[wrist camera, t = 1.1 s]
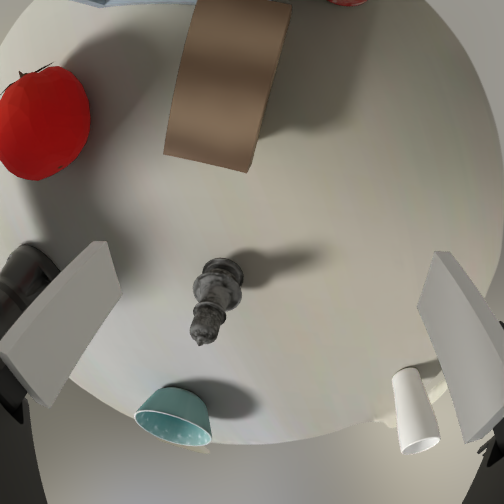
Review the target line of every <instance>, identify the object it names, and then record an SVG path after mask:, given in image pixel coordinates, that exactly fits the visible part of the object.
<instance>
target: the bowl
mask: <svg viewBox="0 0 504 504" xmlns="http://www.w3.org/2000/svg"><path fill="white" fill-rule="evenodd" d="M134 418H135V420H136V422H137V423H138V424H139V425H140V426H141V427H142V428H143V429H144V430H146V431H148V432H149V433H151V434H153V435H155V436H157V437H159V438H161V439H164V440H166V441H169V442H173V443H177V444H181V445H187V446H202V445H206V444H209V443H210V442H211V441H212V434H211V428H210V422H209V417H208V412H207V407H206V405H205V404H204V402H203V401H202V400H201V399H200V398H199V397H198V396H197V395H195V394H194V393H192V392H190V391H188V390H185V389H181V388H176V387H167V388H162V389H159V390H157V391H156V392H155V393H154V394H153V395H152V396H151V397H150V398H149V399H148V400H147V401H146V402H145V403H144V404H143V405H142V406H141V407H140V408H139V409H138V410H137V411H136V413H135V414H134Z"/></svg>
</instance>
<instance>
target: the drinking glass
mask: <svg viewBox="0 0 504 504" xmlns="http://www.w3.org/2000/svg"><path fill="white" fill-rule="evenodd" d="M392 386H393V391H394V400H395V409H396V421H397V433H398V439H399V445H400V449H401V453H402V454H405V455H410V454H415V453H419V452H422V451H425V450H427V449H429V448H431V447H433V446H435V445H436V444H437V443H438V442H439V441H440V439H441V438H440V432H439V427H438V423H437V419H436V416H435V413H434V410H433V408H432V405H431V403H430V400H429V398H428V395H427V392H426V390H425V387H424V385H423V382H422V380H421V377H420V374H419V371H418V370H417V369H416V368H412V367H410V368H405V369H402V370H400V371H398V372H397V373H396V374H395V375H394V376H393V378H392Z"/></svg>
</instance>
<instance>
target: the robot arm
mask: <svg viewBox="0 0 504 504" xmlns="http://www.w3.org/2000/svg"><path fill="white" fill-rule="evenodd" d="M122 294H123V293H122V290H121V287H120V284H119V281H118V278H117V275H116V271H115V268H114V265H113V261H112V258H111V254H110V251H109V247H108V244H107V241H93V242H92V243H90V244H89V245H88V246H87V247H86V248H85V249H84V250H83V251H82V252H81V253H80V254H79V255H78V256H77V257H76V258H75V259H74V260H73V261H72V262H71V263H70V264H69V265H68V266H67V267H66V268H65V269H64V270H63V271H62V272H61V273H60V272H59V270H58V269H57V268H56V266H55V265H54V264H53V263H52V261H51V260H50V259H49V258H48V257H47V256H46V255H44V254H43V253H42V252H41V251H39V250H38V249H36V248H34V247H32V246H28V245H23V246H20V247H18V248H17V249H16V250H15V251H13V252H12V253H11V254H10V256H9V257H8V259H7V262H6V264H5V266H4V267H3V269H2V271H1V272H0V504H47V500H46V497H45V493H44V489H43V486H42V482H41V478H40V473H39V469H38V465H37V460H36V454H35V449H34V443H33V437H32V430H31V422H30V412H29V404H28V401H27V399H26V398H25V395H26V394H27V392H28V394H29V395H30V396H31V397H32V398H33V399H34V401H35V402H36V403H39V404H40V405H42V406H45V407H47V408H49V409H50V408H51V407H52V405H53V403H54V401H55V399H56V397H57V396H58V394H59V392H60V391H61V389H62V387H63V385H64V384H65V382H66V380H67V379H68V377H69V375H70V374H71V372H72V370H73V369H74V367H75V366H76V364H77V362H78V361H79V359H80V357H81V356H82V354H83V353H84V351H85V350H86V348H87V346H88V345H89V343H90V342H91V340H92V339H93V337H94V336H95V334H96V333H97V331H98V329H99V328H100V326H101V325H102V323H103V322H104V320H105V319H106V318H107V316H108V315H109V313H110V312H111V310H112V309H113V307H114V306H115V304H116V303H117V302H118V300H119V299H120V297H121V296H122ZM417 309H418V311H419V313H420V316H421V318H422V320H423V322H424V325H425V327H426V330H427V332H428V334H429V337H430V339H431V342H432V344H433V347H434V349H435V352H436V355H437V357H438V360H439V363H440V365H441V368H442V371H443V374H444V376H445V379H446V382H447V385H448V388H449V391H450V394H451V398H452V401H453V404H454V407H455V411H456V414H457V417H458V421H459V424H460V428H461V432H462V436H463V440H464V443H465V444H466V443H469V442H472V441H475V440H478V439H482V438H483V437H484V436H485V435H486V434H488V433H489V432H490V431H491V430H492V429H493V431H494V434H495V435H494V436H493V437H492V438H491V439H490V440H489V441H487V442H486V443H485V444H484V445H483V446H482V447H480V449H479V450H478V452H477V453H478V454H480V453H481V452H482V451H483V450H484V449H486V448H487V450H486V452H485V453H484V454H483V456H484V457H483V460H482V462H481V465H480V467H479V469H478V471H477V474H476V476H475V478H474V480H473V482H472V485H471V487H470V489H469V491H468V493H467V495H466V497H465V499H464V500H463V502H462V504H504V323H503V322H501V321H498V320H497V318H496V316H495V315H494V313H493V312H492V310H491V309H490V307H489V306H488V304H487V302H486V301H485V299H484V298H483V296H482V295H481V293H480V292H479V291H478V289H477V288H476V286H475V285H474V283H473V282H472V281H471V279H470V278H469V276H468V275H467V274H466V272H465V271H464V270H463V268H462V267H461V266H460V264H459V263H458V262H457V260H456V259H455V258H454V256H453V255H452V254H451V253H450V252H441V251H434V255H433V258H432V262H431V265H430V269H429V272H428V275H427V278H426V281H425V284H424V287H423V290H422V293H421V296H420V299H419V302H418V305H417Z"/></svg>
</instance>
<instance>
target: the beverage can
mask: <svg viewBox="0 0 504 504" xmlns="http://www.w3.org/2000/svg"><path fill="white" fill-rule="evenodd" d="M327 1H329V2H331V3H334V4H337V5H341V6H357V5H360V4H363V3H365V2H366V1H367V0H327Z"/></svg>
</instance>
